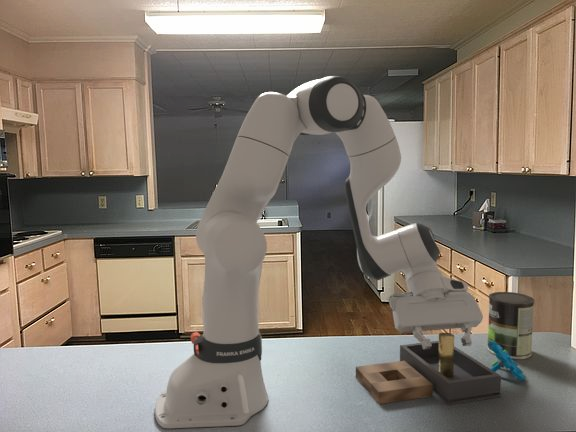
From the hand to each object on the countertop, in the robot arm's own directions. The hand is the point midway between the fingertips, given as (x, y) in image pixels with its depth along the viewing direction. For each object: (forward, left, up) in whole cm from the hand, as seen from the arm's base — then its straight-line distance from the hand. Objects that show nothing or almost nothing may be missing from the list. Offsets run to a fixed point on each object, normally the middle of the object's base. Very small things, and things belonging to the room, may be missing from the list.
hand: (447, 346), depth 99 cm
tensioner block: (-13, +1, -8) cm, 15 cm away
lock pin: (0, +1, -7) cm, 7 cm away
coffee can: (+24, +10, -8) cm, 27 cm away
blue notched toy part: (+14, -1, -8) cm, 16 cm away
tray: (0, +1, -8) cm, 8 cm away
